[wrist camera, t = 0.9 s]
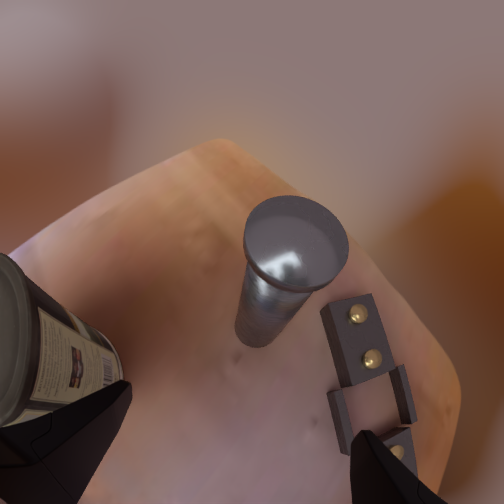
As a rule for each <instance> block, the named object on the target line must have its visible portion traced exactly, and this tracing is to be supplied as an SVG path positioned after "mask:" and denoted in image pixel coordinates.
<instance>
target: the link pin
mask: <svg viewBox="0 0 504 504" xmlns="http://www.w3.org/2000/svg"><path fill="white" fill-rule="evenodd" d="M243 248H244V253H245V256H246V259H247V261H248V262H247V266H246V271H245V276H244V281H243V286H242V291H241V296H240V301H239V306H238V311H237V316H236V321H235V332H236V335H237V337H238V338H239V339H240V341H241V342H242V343H244V344H245V345H247V346H250V347H254V348H260V347H264V346H267V345H268V344H270V343H271V342H272V341H273V340H274V339H275V338H276V337H277V335H278V334H279V333H280V332H281V331H282V330H283V328H284V327H285V326H286V325H287V324H288V322H289V321H290V320H291V319H292V318H293V316H294V315H295V314H296V313H297V311H298V310H299V309H300V308H301V307H302V305H303V304H304V303H305V302H306V300H307V299H308V298H309V297H310V295H311V294H312V293H313V292H314V291H317V290H319V289H322V288H324V287H325V286H327V285H328V284H329V283H331V282H332V281H333V279H334V278H335V277H336V276H337V275H338V273H339V272H340V271H341V270H342V269H343V267H344V265H345V263H346V261H347V258H348V252H349V245H348V239H347V235H346V232H345V230H344V228H343V226H342V225H341V223H340V222H339V220H338V219H337V218H336V217H335V216H334V215H333V214H332V213H331V212H330V211H329V210H328V209H326V208H325V207H324V206H322V205H320V204H319V203H317V202H315V201H312V200H310V199H307V198H303V197H299V196H277V197H273V198H270V199H267V200H265V201H264V202H262V203H260V204H259V205H258V206H257V207H255V208H254V209H253V211H252V212H251V213H250V215H249V217H248V219H247V222H246V226H245V232H244V238H243Z"/></svg>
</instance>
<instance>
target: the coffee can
mask: <svg viewBox="0 0 504 504" xmlns="http://www.w3.org/2000/svg"><path fill="white" fill-rule="evenodd" d="M120 379H123V370H122V366H121V362H120V359H119V356H118V354H117V352H116V350H115V348H114V346H113V345H112V344H111V342H110V341H109V340H108V339H107V338H106V337H105V336H104V335H103V334H102V333H101V332H99V331H98V330H96V329H95V328H93V327H91V326H89V325H88V324H86V323H85V322H83V321H82V320H81V319H79V318H78V317H76V316H75V315H74V314H72V313H71V312H70V311H68V310H67V309H66V308H64V307H63V306H62V305H60V304H59V303H58V302H56V301H55V300H54V299H53V298H52V297H50V296H49V295H48V294H47V293H46V292H44V291H43V290H42V289H41V288H40V287H38V286H37V285H36V284H35V283H34V282H33V281H31V280H30V279H29V278H28V277H27V276H26V275H25V274H24V272H23V271H22V269H21V268H20V267H19V266H18V265H17V264H16V262H14V261H13V260H12V259H11V258H10V257H8V256H7V255H5V254H3V253H0V427H5V426H9V425H13V424H17V423H21V422H25V421H28V420H32V419H35V418H37V417H40V416H42V415H45V414H47V413H50V412H52V411H54V410H57V409H59V408H61V407H63V406H66V405H68V404H70V403H72V402H74V401H76V400H79V399H81V398H83V397H85V396H87V395H89V394H91V393H93V392H96V391H98V390H100V389H102V388H104V387H106V386H108V385H110V384H112V383H114V382H116V381H118V380H120Z"/></svg>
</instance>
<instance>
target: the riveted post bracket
mask: <svg viewBox="0 0 504 504" xmlns="http://www.w3.org/2000/svg"><path fill="white" fill-rule="evenodd" d="M320 315H321V318H322V321H323V325H324V328H325V331H326V335H327V338H328V342H329V345H330V349H331V352H332V356H333V360H334V363H335V367H336V371H337V374H338V378H339V382H340V386H341V388H345V387H350V386H354V385H357V384H359V383H362V382H365V381H367V380H370V379H372V378H375V377H377V376H379V375H382V374H384V373H386V372H389V374H390V378H391V382H392V386H393V390H394V394H395V398H396V402H397V406H398V410H399V415H400V419H401V424H413V423H414V422H416V421H417V416H416V411H415V407H414V402H413V398H412V394H411V390H410V386H409V382H408V378H407V374H406V370H405V367H404V364H403V365H400V366H396V367H395V364H394V360H393V357H392V353H391V350H390V347H389V344H388V340H387V337H386V334H385V331H384V328H383V325H382V322H381V319H380V316H379V313H378V310H377V307H376V305H375V302H374V299H373V296H372V294H371V293H370V294H366V295H362V296H358V297H354V298H350V299H345V300H341V301H337V302H332V303H328V304H327V305H326V306H325V307H324V308H323V309H322V310H321V311H320ZM327 397H328V401H329V405H330V409H331V413H332V417H333V422H334V426H335V430H336V434H337V439H338V443H339V447H340V452H341V453H342V454H345V455H348V456H350V452H351V442H352V441H353V439H354V436H353V432H352V428H351V423H350V419H349V415H348V411H347V407H346V403H345V399H344V395H343V391H342V389H341V390H334V391H331V392H328V393H327ZM378 438H379V439H380V440H381V441H382V442H383V443H384V444H385V445H386V446H387V448H388V449H389V450H390V451H391V452H392V453H393V454H394V455H395V456H396V457H397V458H398V459H399V460H400V461H401V462H402V463H403V464H404V465H405V466H406V467H407V468H408V469H409V470H410V471H411V472H412V473H413V474H414V475H415V476H416V477H417V478H418V474H417V466H416V459H415V453H414V447H413V441H412V435H411V430H410V427H396V428H394V429H392V430H390V431H388V432H386V433H384V434H382V435H380V436H378Z"/></svg>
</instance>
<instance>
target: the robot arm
mask: <svg viewBox="0 0 504 504" xmlns="http://www.w3.org/2000/svg"><path fill="white" fill-rule="evenodd" d="M131 401H132V385H131V383H130V382H128V381H125V380H123V379H120V380H118V381H116V382H114V383H112V384H110V385H108V386H106V387H104V388H102V389H100V390H98V391H96V392H93V393H91V394H89V395H87V396H85V397H83V398H81V399H79V400H76V401H74V402H72V403H70V404H68V405H66V406H63V407H61V408H59V409H57V410H54V411H52V412H50V413H47V414H45V415H42V416H40V417H37V418H35V419H32V420H28V421H25V422H21V423H17V424H13V425H9V426H5V427H0V504H77V503H78V501H79V499H80V498H81V496H82V494H83V492H84V490H85V489H86V487H87V485H88V483H89V482H90V480H91V478H92V476H93V475H94V473H95V471H96V469H97V468H98V466H99V464H100V462H101V461H102V459H103V457H104V455H105V454H106V452H107V450H108V449H109V447H110V445H111V443H112V442H113V440H114V438H115V437H116V435H117V433H118V431H119V429H120V427H121V424H122V422H123V420H124V417H125V415H126V413H127V410H128V408H129V406H130V403H131ZM350 481H351V493H352V504H448V503H446V502H445V501H444V500H442V499H441V498H440V497H438V496H437V495H436V494H435V493H433V492H432V491H431V490H430V489H429V488H428V487H427V486H425V485H424V484H423V483H422V482H421V481H420V480H419V479H418V478H417V477H416V476H415V475H414V474H413V473H412V472H411V471H410V470H409V469H408V468H407V467H406V466H405V465H404V464H403V463H402V462H401V461H400V460H399V459H398V458H397V457H396V456H395V455H394V454H393V453H392V452H391V451H390V450H389V449H388V448H387V446H386V445H385V444H384V443H383V442H382V441H381V440H380V439H379V438H378V437H377V436H376V435H375V434H374V433H373V432H372V431H371V430H361V431H360V432H359V433H358V434H357V435H356V437H355V438H354V439H353V441H352V442H351V452H350Z"/></svg>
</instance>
